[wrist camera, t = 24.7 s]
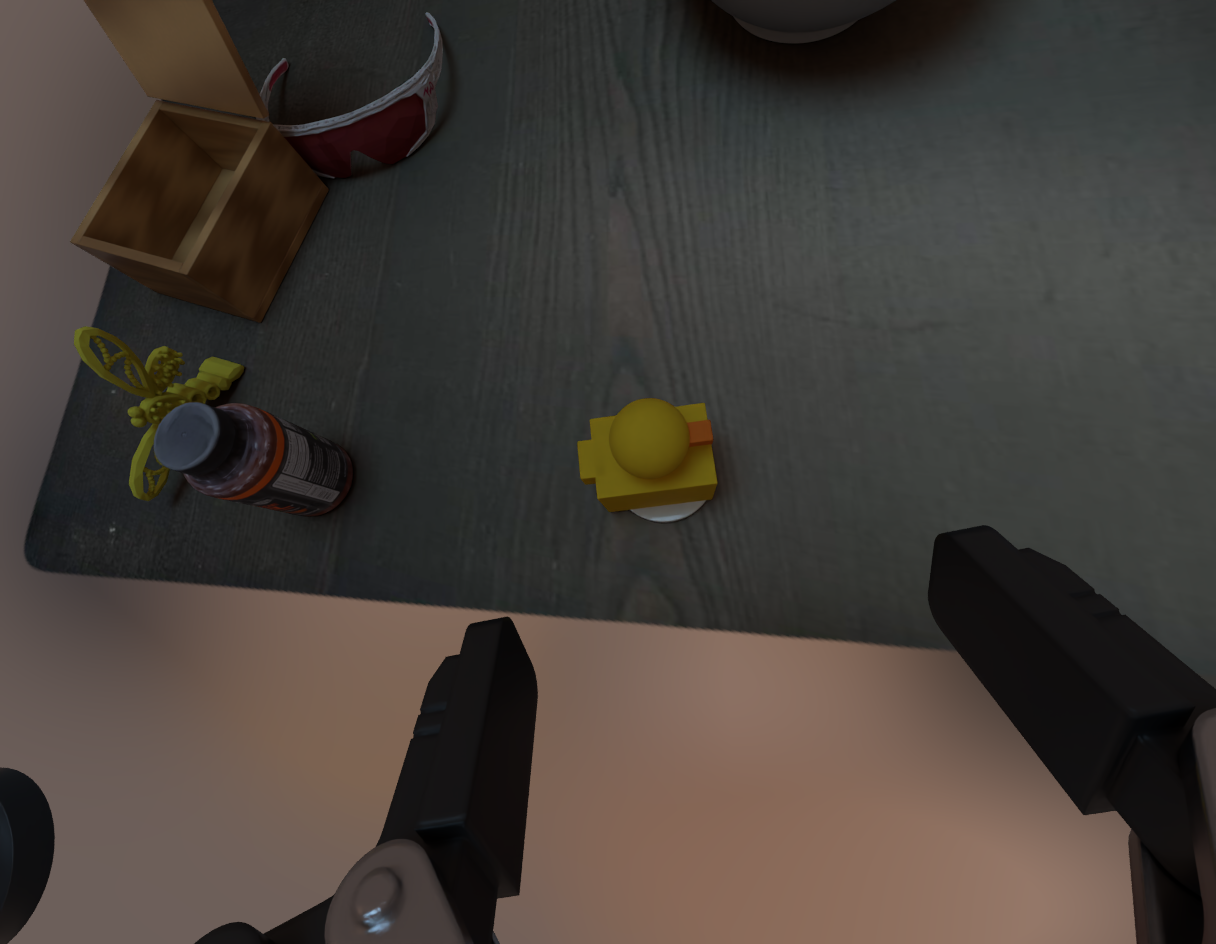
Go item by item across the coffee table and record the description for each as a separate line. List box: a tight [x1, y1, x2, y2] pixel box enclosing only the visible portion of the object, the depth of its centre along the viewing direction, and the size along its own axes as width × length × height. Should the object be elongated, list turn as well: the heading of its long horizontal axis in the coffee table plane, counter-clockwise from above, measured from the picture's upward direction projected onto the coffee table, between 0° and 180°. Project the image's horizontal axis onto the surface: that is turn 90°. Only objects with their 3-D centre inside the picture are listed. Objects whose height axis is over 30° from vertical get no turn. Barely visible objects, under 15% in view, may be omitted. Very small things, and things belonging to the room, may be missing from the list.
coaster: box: [630, 463, 715, 523], centre depth 35 cm, size 7×7×1 cm
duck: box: [577, 398, 717, 512], centre depth 31 cm, size 8×5×10 cm, turn 96°
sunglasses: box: [256, 12, 443, 179], centre depth 46 cm, size 17×17×5 cm
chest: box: [70, 100, 329, 323], centre depth 42 cm, size 14×12×7 cm
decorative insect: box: [74, 326, 244, 501], centre depth 39 cm, size 13×3×10 cm
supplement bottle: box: [154, 402, 353, 516], centre depth 34 cm, size 6×6×11 cm
